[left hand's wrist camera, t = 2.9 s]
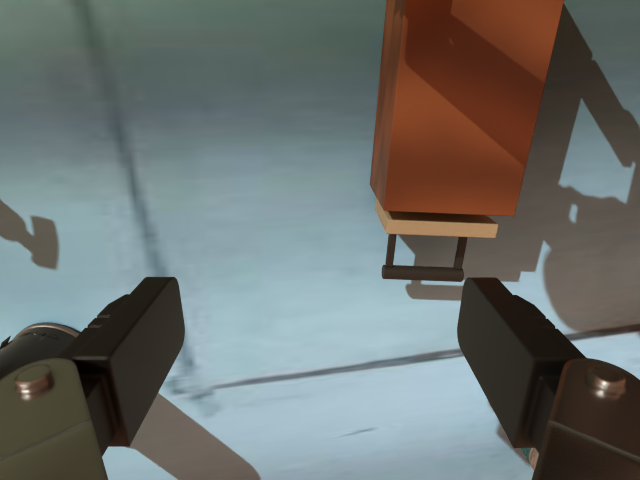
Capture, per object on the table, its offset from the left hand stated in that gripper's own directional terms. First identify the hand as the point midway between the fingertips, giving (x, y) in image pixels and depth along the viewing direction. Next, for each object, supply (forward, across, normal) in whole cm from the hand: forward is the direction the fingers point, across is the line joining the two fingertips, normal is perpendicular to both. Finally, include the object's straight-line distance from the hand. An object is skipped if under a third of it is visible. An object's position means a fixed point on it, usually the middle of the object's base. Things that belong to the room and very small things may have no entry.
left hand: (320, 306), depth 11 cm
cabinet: (+28, -10, -7) cm, 31 cm away
